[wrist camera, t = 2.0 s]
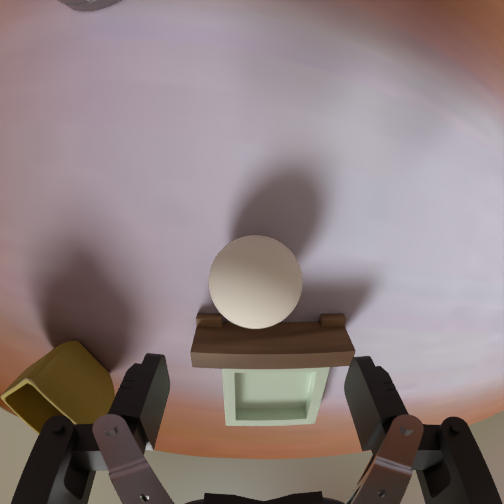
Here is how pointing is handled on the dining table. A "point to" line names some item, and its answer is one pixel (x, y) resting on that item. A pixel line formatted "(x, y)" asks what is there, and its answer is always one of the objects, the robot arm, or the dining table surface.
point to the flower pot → (62, 388)
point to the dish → (273, 396)
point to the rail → (271, 344)
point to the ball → (255, 281)
